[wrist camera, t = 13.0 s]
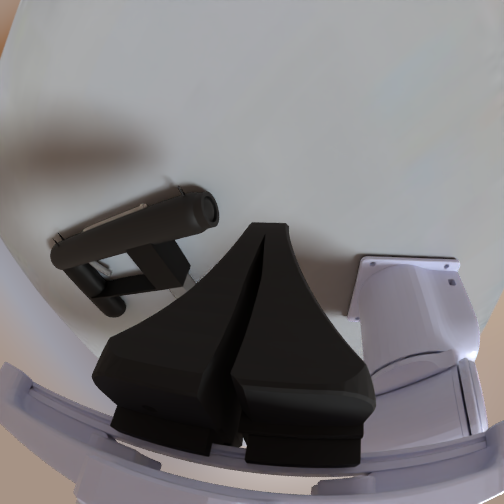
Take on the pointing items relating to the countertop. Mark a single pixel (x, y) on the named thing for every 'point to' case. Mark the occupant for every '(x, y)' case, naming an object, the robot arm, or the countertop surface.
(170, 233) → the gun
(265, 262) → the robot arm
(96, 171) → the countertop surface
